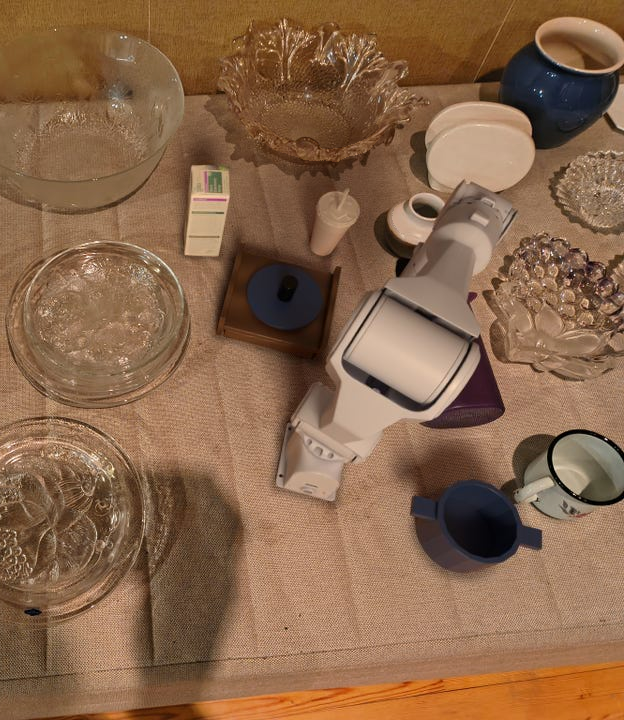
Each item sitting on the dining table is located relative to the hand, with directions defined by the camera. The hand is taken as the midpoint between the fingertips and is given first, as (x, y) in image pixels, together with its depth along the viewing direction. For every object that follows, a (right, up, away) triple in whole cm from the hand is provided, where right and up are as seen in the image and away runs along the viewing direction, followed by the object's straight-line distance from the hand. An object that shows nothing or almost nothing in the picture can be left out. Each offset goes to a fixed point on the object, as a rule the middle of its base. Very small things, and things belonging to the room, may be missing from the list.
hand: (394, 327), depth 89 cm
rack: (-13, +3, +13) cm, 19 cm away
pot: (+7, -27, -2) cm, 28 cm away
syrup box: (-24, +15, +18) cm, 34 cm away
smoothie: (-5, +14, +19) cm, 24 cm away
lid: (-13, +5, +10) cm, 17 cm away
